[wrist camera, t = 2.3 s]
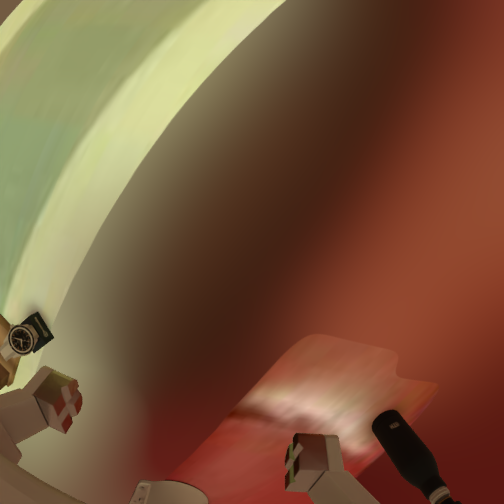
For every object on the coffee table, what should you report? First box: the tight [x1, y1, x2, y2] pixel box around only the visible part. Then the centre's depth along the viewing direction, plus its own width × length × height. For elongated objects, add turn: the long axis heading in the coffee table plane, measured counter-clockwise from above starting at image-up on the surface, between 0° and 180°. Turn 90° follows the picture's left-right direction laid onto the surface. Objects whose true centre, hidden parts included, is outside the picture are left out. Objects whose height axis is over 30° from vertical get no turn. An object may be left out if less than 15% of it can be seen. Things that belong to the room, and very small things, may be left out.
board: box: [0, 314, 21, 387], centre depth 42 cm, size 14×8×2 cm, turn 144°
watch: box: [0, 312, 54, 361], centre depth 37 cm, size 6×8×11 cm
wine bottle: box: [372, 410, 462, 504], centre depth 34 cm, size 6×6×30 cm
